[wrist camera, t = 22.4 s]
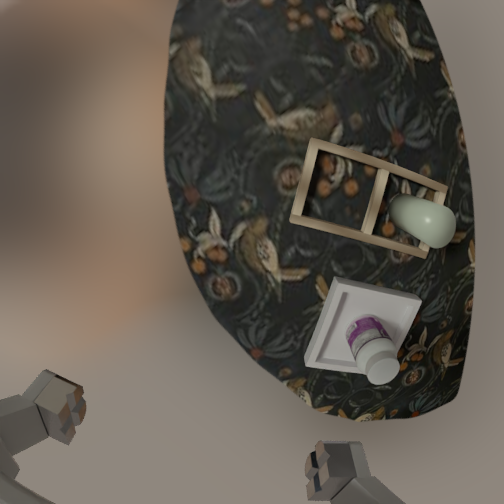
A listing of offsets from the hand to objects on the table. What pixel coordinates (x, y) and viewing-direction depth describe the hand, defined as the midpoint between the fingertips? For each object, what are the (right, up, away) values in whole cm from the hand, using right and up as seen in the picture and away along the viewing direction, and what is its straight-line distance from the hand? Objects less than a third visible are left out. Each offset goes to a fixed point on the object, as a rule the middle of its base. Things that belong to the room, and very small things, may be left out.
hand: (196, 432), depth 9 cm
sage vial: (+21, +11, +26) cm, 35 cm away
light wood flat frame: (+17, +12, +26) cm, 33 cm away
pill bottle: (+17, -5, +31) cm, 36 cm away
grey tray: (+17, -5, +32) cm, 36 cm away
